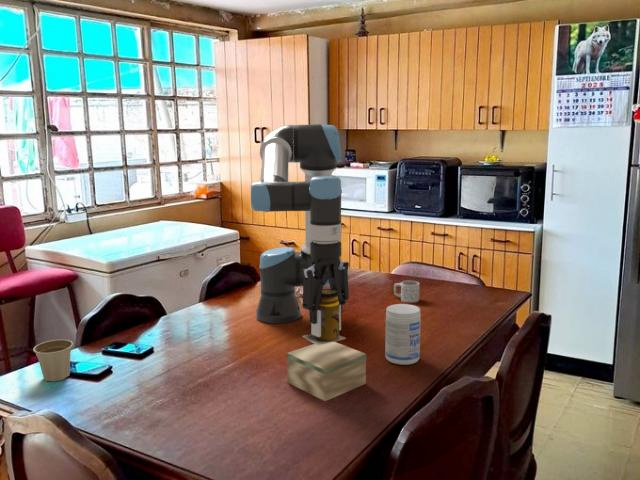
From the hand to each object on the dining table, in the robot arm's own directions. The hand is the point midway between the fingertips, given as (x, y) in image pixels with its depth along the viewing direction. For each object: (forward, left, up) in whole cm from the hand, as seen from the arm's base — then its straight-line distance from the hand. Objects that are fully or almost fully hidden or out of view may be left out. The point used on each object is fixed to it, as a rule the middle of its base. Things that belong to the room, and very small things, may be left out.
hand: (326, 331), depth 147 cm
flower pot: (-51, -49, -14) cm, 72 cm away
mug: (-33, +71, -14) cm, 80 cm away
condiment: (0, -1, -2) cm, 2 cm away
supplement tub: (+3, +26, -14) cm, 30 cm away
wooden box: (0, 0, -14) cm, 14 cm away
